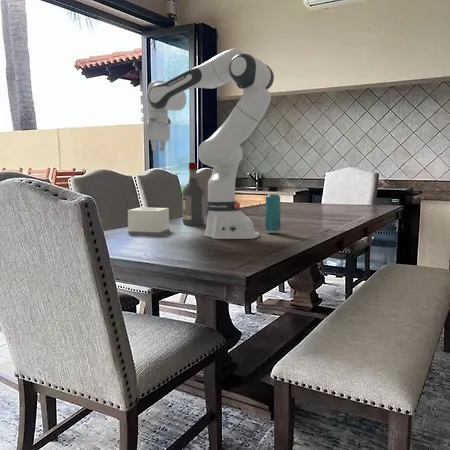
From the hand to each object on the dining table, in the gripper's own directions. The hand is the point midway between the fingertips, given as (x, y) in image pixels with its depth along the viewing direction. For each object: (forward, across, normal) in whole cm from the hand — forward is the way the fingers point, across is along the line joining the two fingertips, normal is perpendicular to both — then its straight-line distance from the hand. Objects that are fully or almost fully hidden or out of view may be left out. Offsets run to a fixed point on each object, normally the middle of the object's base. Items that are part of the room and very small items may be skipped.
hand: (158, 150), depth 200 cm
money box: (+35, -11, +1) cm, 37 cm away
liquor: (+35, +17, -11) cm, 41 cm away
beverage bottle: (+35, -4, -52) cm, 63 cm away
